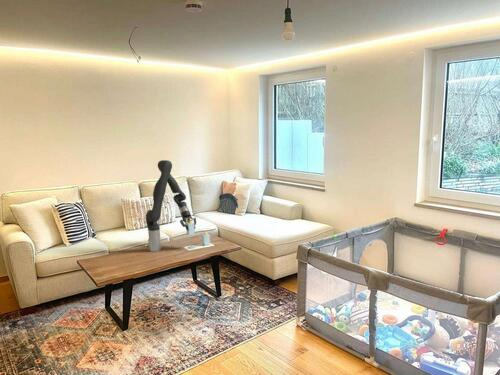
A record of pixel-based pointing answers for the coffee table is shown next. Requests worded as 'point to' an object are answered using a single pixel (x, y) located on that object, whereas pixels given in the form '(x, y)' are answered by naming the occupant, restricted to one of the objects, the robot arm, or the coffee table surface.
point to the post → (206, 239)
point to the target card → (197, 246)
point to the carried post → (190, 228)
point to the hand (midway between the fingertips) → (191, 229)
